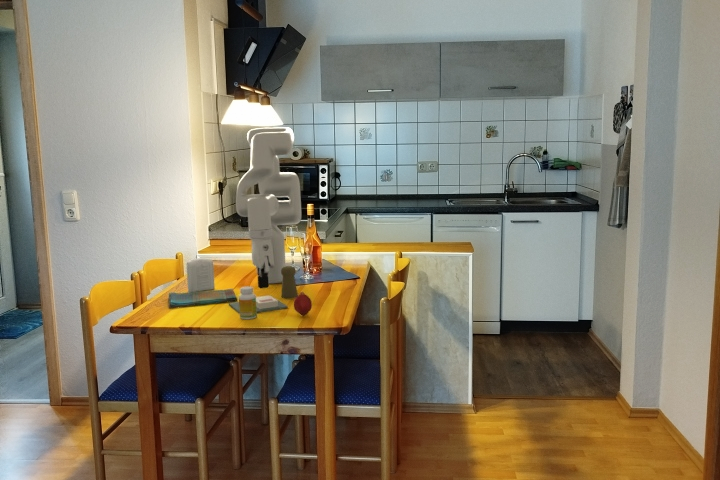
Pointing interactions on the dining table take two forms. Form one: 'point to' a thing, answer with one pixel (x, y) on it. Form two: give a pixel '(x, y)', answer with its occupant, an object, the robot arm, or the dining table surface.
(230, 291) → the dish towel
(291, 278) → the pepper shaker
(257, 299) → the card box
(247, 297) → the supplement bottle
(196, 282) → the photo printer
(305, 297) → the onion
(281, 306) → the mat
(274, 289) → the dining table surface
